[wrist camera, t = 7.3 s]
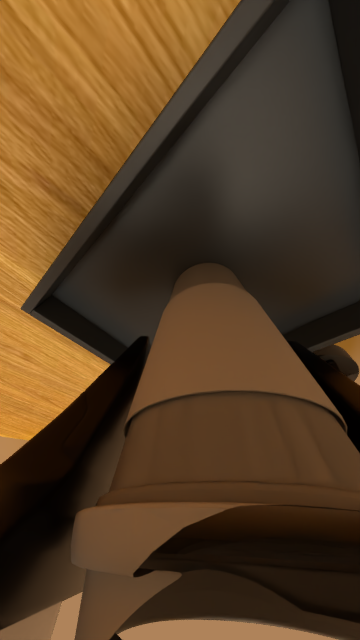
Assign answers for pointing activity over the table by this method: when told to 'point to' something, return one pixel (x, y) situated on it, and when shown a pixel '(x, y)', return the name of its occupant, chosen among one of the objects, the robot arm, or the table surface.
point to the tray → (232, 188)
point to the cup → (224, 482)
